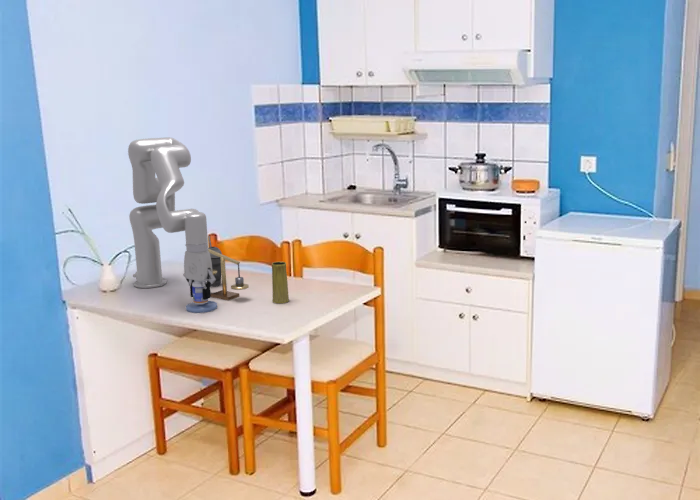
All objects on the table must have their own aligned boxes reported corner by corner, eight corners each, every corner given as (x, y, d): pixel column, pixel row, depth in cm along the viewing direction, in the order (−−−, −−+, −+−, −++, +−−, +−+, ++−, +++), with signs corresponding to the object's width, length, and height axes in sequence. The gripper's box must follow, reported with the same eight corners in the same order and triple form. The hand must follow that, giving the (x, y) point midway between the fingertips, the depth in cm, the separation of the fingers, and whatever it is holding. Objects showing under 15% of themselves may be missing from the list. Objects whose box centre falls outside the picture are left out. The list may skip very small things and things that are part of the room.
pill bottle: (194, 300, 275) (192, 274, 273) (209, 299, 276) (207, 273, 273) (192, 305, 270) (190, 278, 268) (207, 304, 270) (206, 277, 268)
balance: (197, 294, 290) (194, 249, 286) (210, 290, 295) (207, 246, 292) (241, 303, 278) (238, 256, 274) (252, 298, 283) (250, 252, 279)
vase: (276, 304, 275) (274, 266, 272) (269, 300, 280) (267, 262, 277) (291, 302, 278) (290, 263, 275) (285, 298, 283) (283, 260, 280)
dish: (179, 310, 272) (179, 306, 271) (201, 302, 281) (201, 298, 280) (201, 314, 266) (201, 311, 265) (223, 306, 274) (223, 303, 274)
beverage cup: (220, 288, 299) (217, 237, 294) (202, 287, 300) (199, 237, 296) (227, 283, 306) (224, 233, 301) (209, 282, 307) (206, 233, 303)
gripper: (172, 247, 270) (176, 296, 274) (207, 252, 260) (210, 303, 265) (188, 243, 276) (191, 291, 280) (222, 248, 266) (225, 298, 271)
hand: (200, 297), depth 272 cm, fingers closed on pill bottle, 5 cm apart
